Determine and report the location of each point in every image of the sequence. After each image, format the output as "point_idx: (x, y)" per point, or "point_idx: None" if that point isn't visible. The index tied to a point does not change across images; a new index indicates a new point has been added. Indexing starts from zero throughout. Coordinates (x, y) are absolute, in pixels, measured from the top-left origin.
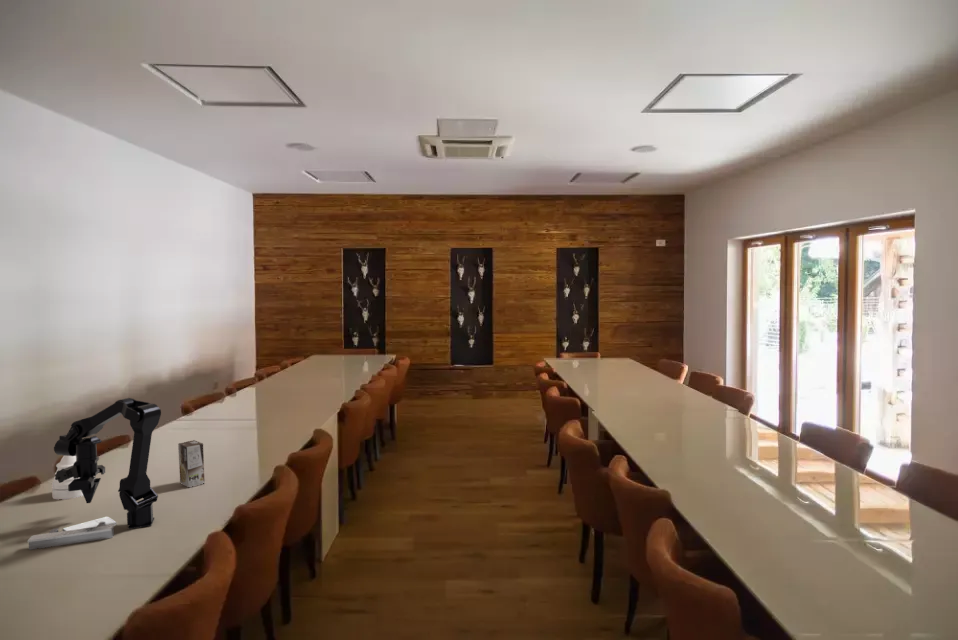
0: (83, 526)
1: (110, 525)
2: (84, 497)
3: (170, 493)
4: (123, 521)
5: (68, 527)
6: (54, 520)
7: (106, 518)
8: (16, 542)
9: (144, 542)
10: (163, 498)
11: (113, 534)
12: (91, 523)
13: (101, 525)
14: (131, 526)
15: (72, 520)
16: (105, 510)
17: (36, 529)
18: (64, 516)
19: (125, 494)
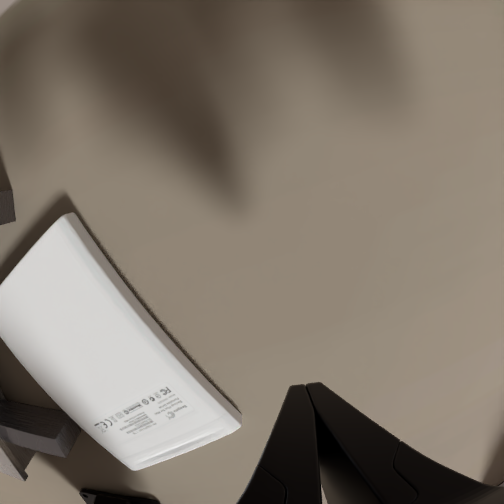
0: (70, 347)
1: (12, 471)
2: (270, 435)
3: None
4: (175, 477)
5: (63, 256)
6: (343, 56)
7: (191, 435)
8: (14, 27)
9: (11, 494)
10: None
11: (29, 453)
12: (116, 380)
13: (24, 443)
14: (90, 499)
15: (297, 191)
16: (416, 352)
17: (181, 6)
18: (408, 104)
19: None
